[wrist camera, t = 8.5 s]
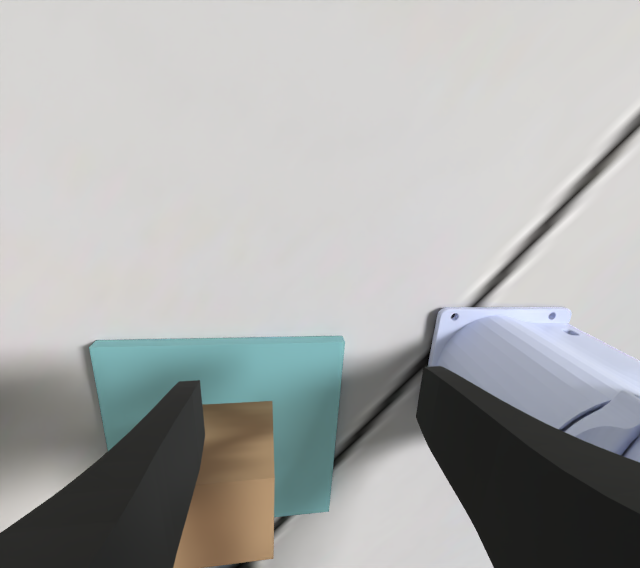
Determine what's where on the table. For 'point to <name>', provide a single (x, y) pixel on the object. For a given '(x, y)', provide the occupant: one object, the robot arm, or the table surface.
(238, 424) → the walnut cube
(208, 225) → the table surface
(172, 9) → the table surface
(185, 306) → the table surface
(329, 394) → the teal board
